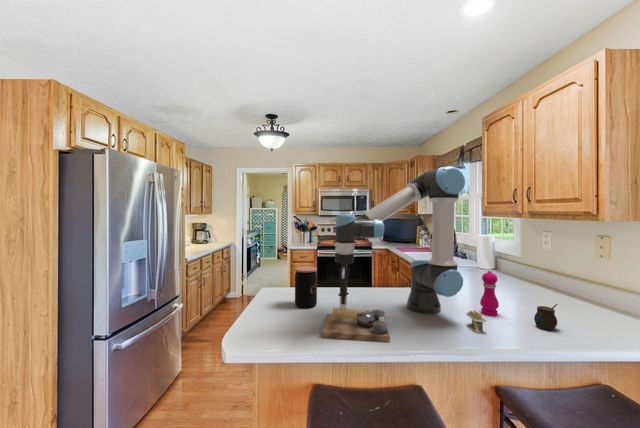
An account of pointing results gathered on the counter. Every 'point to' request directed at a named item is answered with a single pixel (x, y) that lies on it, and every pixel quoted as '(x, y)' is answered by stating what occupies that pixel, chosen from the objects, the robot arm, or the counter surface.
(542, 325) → the mate gourd
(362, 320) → the ball-head mallet
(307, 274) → the coffee jar
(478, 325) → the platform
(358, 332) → the instrument base
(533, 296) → the counter surface
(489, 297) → the pepper mill
